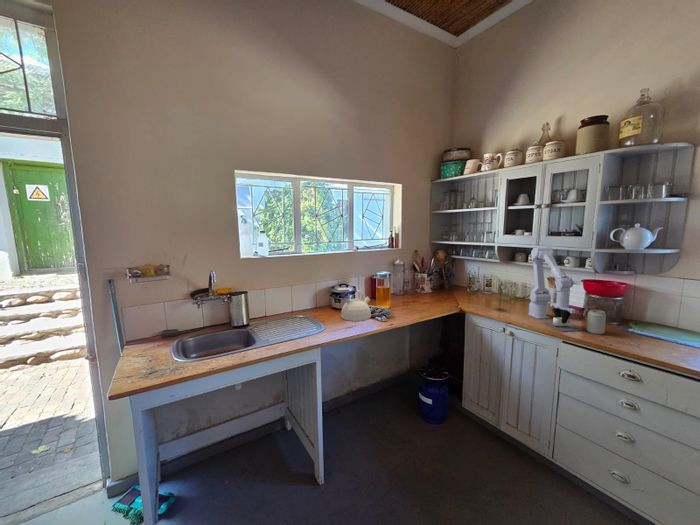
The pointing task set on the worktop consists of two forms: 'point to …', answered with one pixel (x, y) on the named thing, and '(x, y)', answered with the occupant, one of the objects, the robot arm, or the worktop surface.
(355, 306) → the kettle
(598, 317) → the can
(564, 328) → the mat
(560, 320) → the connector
